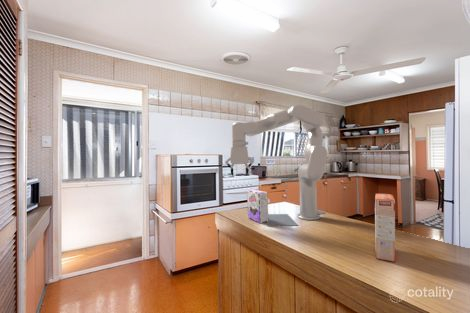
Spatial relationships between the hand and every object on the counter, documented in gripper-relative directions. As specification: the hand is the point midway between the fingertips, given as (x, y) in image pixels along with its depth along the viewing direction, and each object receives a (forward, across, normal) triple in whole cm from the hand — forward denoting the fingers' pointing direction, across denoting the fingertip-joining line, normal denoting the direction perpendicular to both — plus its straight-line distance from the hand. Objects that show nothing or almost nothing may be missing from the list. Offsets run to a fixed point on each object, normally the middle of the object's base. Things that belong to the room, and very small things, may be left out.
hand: (239, 175), depth 132 cm
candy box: (+26, -10, 0) cm, 28 cm away
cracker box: (+26, -51, +48) cm, 75 cm away
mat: (+26, -22, 0) cm, 34 cm away
